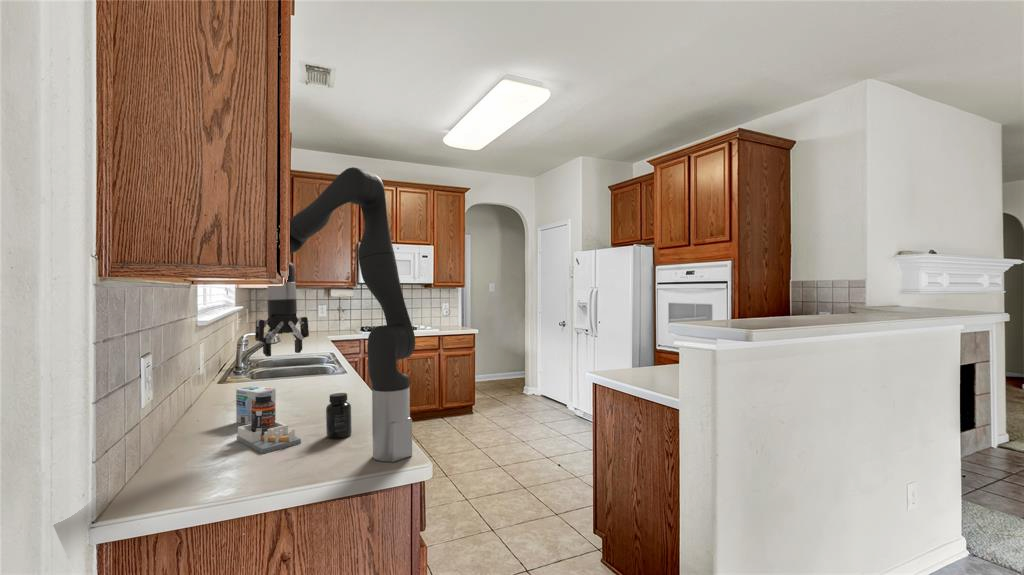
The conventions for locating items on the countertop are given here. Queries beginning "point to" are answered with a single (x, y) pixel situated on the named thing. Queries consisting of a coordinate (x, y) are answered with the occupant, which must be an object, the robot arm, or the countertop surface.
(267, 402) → the supplement bottle
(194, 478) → the countertop surface
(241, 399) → the light bulb box
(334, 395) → the supplement bottle
